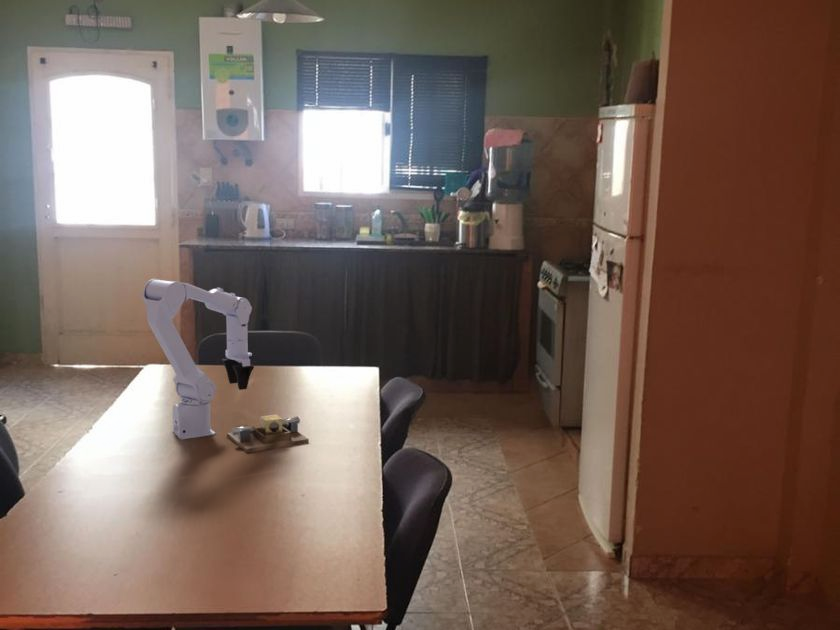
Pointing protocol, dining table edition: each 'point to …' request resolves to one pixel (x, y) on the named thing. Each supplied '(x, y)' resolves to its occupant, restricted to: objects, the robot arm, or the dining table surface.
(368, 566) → the dining table surface
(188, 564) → the dining table surface
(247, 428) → the shaft left
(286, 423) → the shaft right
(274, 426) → the block
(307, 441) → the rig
